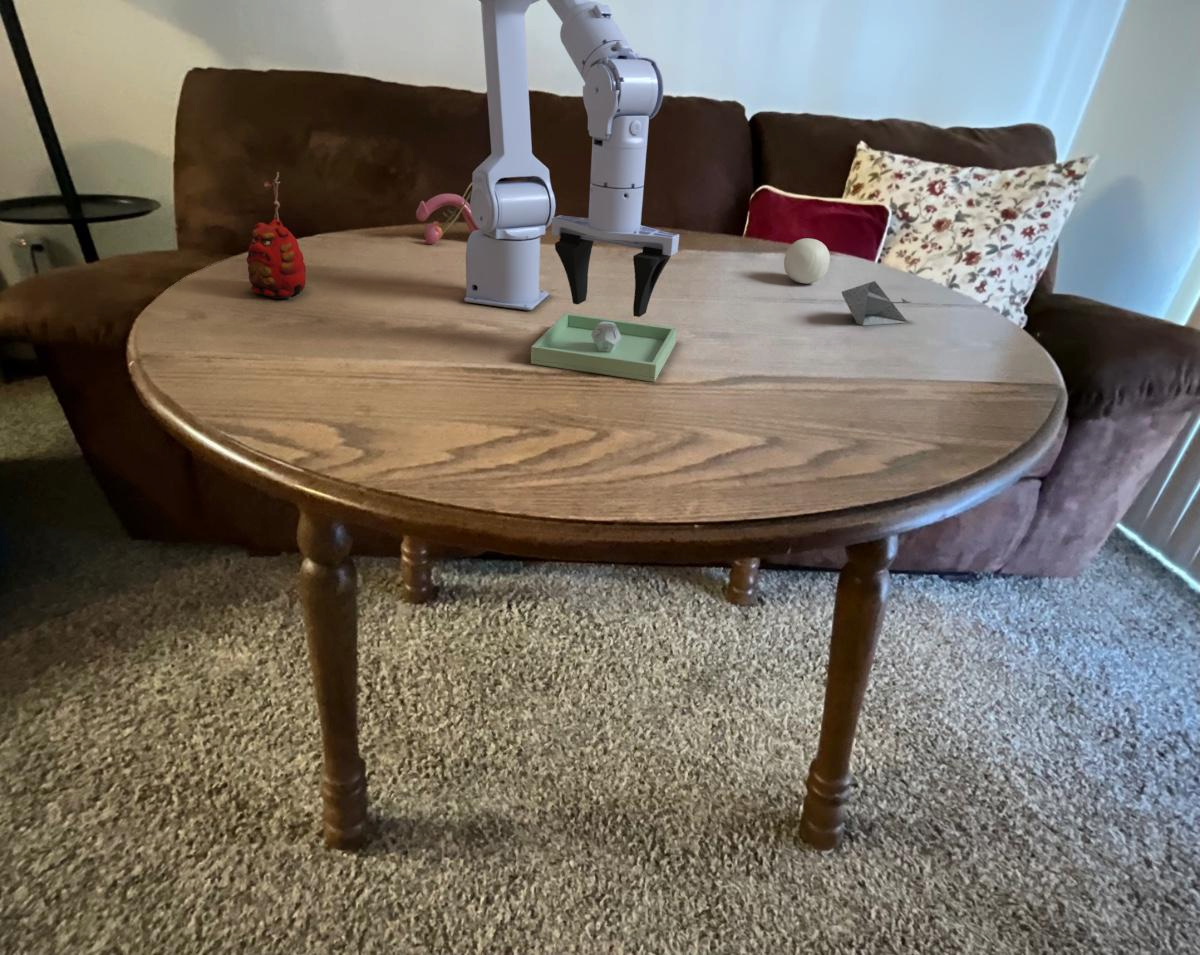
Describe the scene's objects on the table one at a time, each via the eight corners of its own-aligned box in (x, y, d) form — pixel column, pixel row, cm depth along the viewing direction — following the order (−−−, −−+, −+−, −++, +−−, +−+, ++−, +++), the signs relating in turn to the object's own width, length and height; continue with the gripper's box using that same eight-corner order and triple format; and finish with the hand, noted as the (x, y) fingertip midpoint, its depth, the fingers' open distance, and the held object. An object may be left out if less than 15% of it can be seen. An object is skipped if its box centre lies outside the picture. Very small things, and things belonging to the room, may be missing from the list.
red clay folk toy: (238, 294, 110) (220, 174, 103) (275, 282, 116) (260, 167, 109) (285, 304, 108) (270, 182, 101) (321, 290, 114) (309, 174, 107)
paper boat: (872, 299, 121) (935, 297, 115) (861, 341, 121) (923, 342, 114) (832, 262, 113) (897, 258, 106) (820, 307, 112) (885, 306, 106)
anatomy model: (403, 214, 143) (461, 145, 140) (464, 267, 150) (521, 203, 147) (406, 228, 134) (468, 155, 131) (471, 284, 141) (532, 216, 138)
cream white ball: (832, 281, 133) (840, 238, 130) (816, 291, 127) (824, 246, 124) (791, 273, 136) (798, 231, 133) (774, 282, 131) (781, 238, 127)
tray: (530, 363, 95) (531, 346, 94) (564, 328, 106) (564, 312, 105) (654, 382, 92) (656, 364, 91) (675, 343, 103) (677, 328, 102)
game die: (587, 344, 100) (588, 319, 98) (617, 343, 101) (619, 319, 99) (593, 354, 97) (594, 329, 96) (624, 354, 98) (626, 329, 96)
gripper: (693, 187, 90) (680, 310, 97) (573, 171, 96) (569, 288, 102) (669, 197, 85) (657, 327, 91) (543, 178, 90) (540, 303, 97)
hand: (609, 308), depth 96 cm, fingers open, 7 cm apart
